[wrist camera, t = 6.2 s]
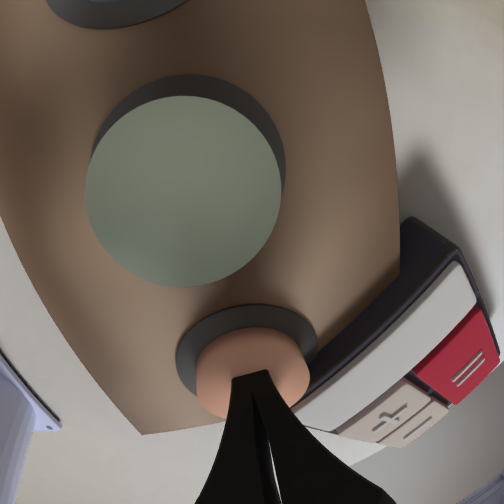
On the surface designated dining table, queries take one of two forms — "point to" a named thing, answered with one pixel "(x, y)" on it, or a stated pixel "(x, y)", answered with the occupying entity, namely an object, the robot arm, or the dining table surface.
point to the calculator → (404, 349)
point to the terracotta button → (249, 366)
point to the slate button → (105, 1)
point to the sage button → (183, 191)
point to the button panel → (257, 112)
